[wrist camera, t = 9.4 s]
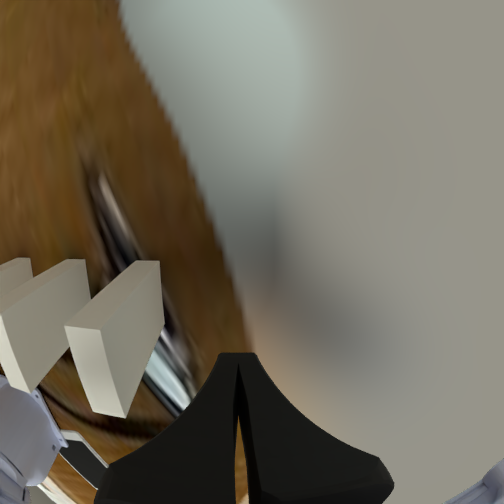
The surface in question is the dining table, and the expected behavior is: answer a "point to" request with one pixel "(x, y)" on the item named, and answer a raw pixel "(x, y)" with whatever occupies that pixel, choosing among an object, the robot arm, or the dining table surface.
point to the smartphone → (83, 457)
